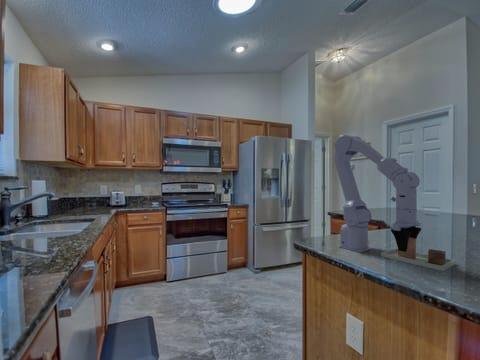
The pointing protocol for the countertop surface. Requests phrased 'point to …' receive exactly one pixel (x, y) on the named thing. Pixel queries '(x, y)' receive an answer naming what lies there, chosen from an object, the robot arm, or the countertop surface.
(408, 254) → the brown rounded cylinder
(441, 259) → the walnut block
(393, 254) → the tray
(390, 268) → the countertop surface
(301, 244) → the countertop surface
